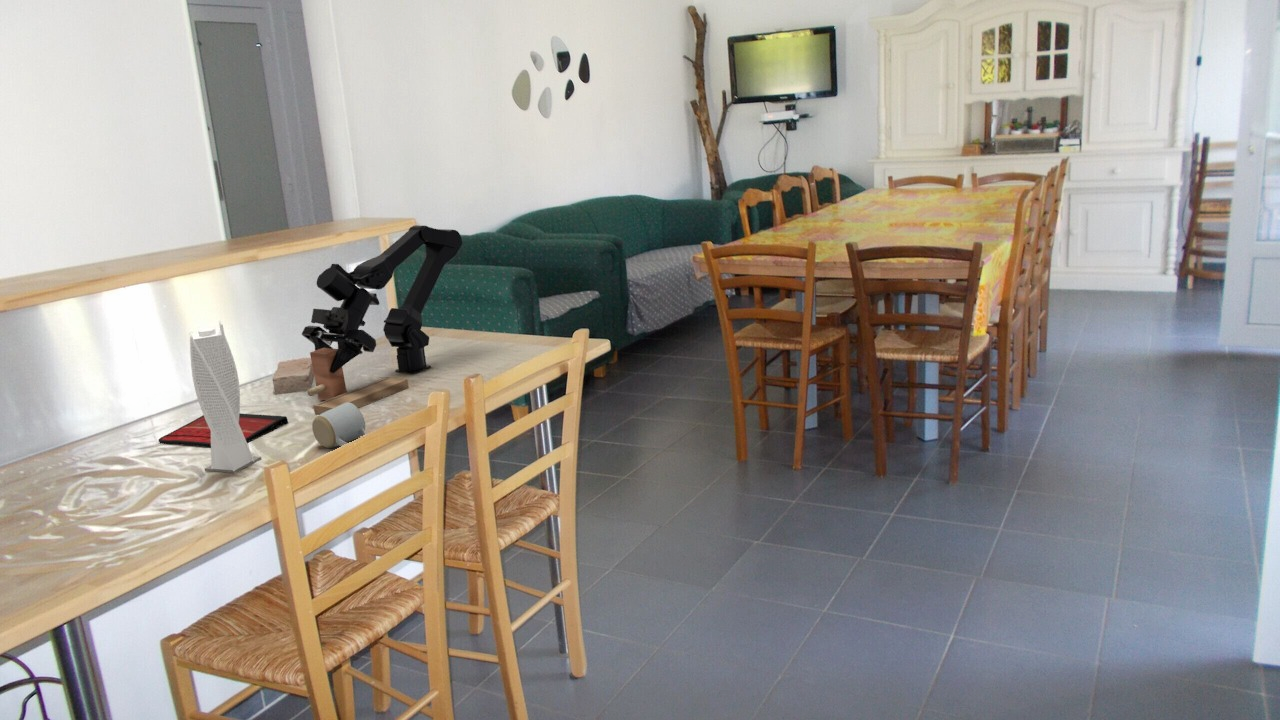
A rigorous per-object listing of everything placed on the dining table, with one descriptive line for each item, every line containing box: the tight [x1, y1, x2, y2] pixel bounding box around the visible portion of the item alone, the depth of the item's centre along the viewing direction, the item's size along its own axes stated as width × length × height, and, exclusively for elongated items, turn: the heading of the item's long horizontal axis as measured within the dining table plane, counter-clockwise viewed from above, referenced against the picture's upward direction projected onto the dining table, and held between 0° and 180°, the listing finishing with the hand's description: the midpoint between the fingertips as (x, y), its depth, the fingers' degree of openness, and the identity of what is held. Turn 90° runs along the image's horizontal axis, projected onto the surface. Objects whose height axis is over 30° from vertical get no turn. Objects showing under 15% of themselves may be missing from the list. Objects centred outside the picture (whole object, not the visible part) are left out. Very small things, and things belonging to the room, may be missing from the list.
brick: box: [272, 357, 315, 395], centre depth 229 cm, size 17×8×5 cm, turn 14°
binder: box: [158, 413, 289, 447], centre depth 195 cm, size 16×2×21 cm
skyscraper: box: [188, 319, 262, 474], centre depth 172 cm, size 8×8×28 cm
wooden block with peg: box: [306, 347, 348, 401], centre depth 210 cm, size 8×5×11 cm, turn 149°
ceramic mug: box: [311, 402, 367, 449], centre depth 182 cm, size 10×8×7 cm
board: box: [313, 376, 409, 416], centre depth 211 cm, size 22×6×2 cm, turn 149°
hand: (323, 371), depth 210 cm, fingers closed on wooden block with peg, 5 cm apart
